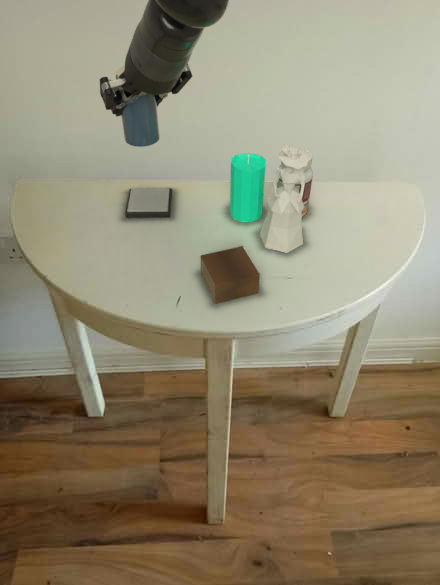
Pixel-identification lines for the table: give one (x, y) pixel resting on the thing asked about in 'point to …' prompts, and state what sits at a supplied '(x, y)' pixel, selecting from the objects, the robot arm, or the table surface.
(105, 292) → the table surface
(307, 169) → the pill bottle
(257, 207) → the candle
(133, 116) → the canister
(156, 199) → the scale
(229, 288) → the block
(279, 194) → the figurine
